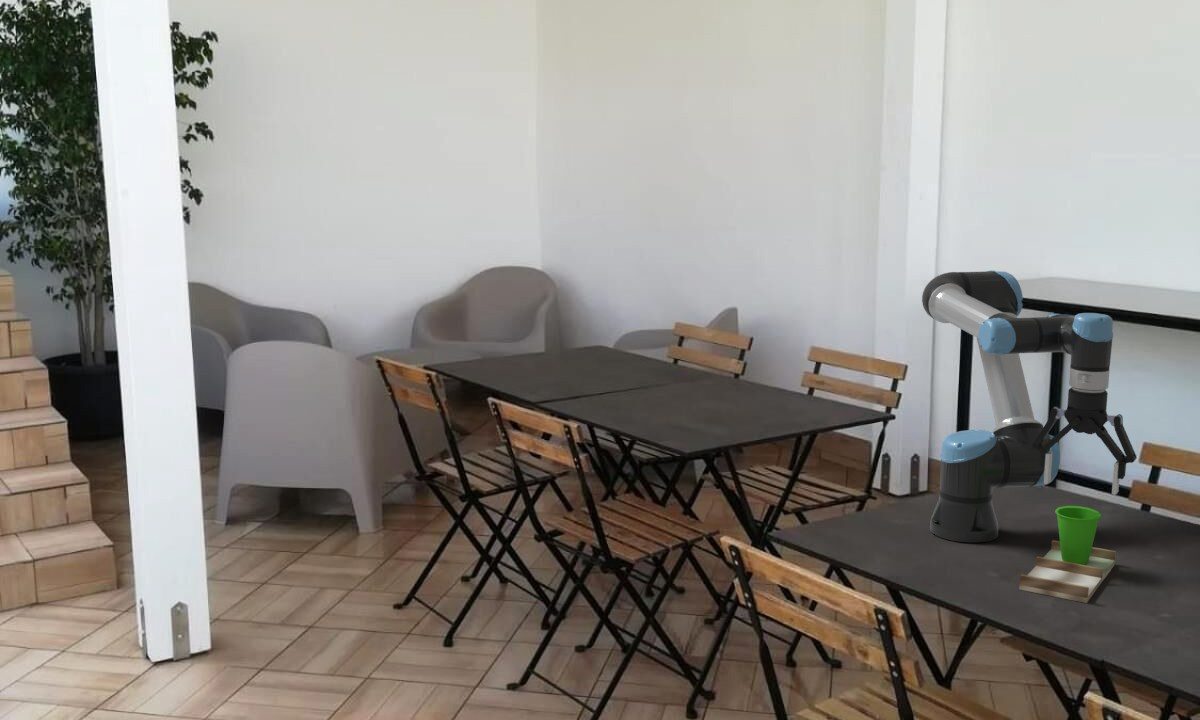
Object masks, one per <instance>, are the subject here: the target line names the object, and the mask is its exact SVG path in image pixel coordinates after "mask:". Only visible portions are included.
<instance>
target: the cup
mask: <svg viewBox="0 0 1200 720" xmlns="http://www.w3.org/2000/svg"><path fill="white" fill-rule="evenodd" d="M1054 513H1055V514H1056V518H1057V527H1058V535H1059V541H1060V547H1061V556H1062V560H1063V561H1065V562H1070V563H1076V564H1081V565H1087V563H1088V561H1089V557H1090V553H1091V549H1092V547H1093V543H1094V541H1095V536H1096V533H1097V528H1098V523H1099V520H1100V519H1101V518H1102V514H1101V512H1099V511H1098V510H1096V509H1094V508H1090V507H1085V506H1077V505H1065V506H1059V507H1057V508H1056V509H1055V512H1054Z"/></svg>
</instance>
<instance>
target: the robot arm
mask: <svg viewBox="0 0 1200 720" xmlns="http://www.w3.org/2000/svg"><path fill="white" fill-rule="evenodd" d="M1022 291H1023V290H1022V288H1021V285H1020V283H1019V282H1018V280H1017V278H1016V277H1015V276H1014V275H1013V274H1011V273H1010V272H1007V271H998V270H997V271H996V270H987V271H958V272H957V271H950V272H945V273H941V274H938V275H937V276H935V277H934V278H932V279H931V280H930V281H929V282H928V283H927V284H926V286H925V287H924V290H923V291H922V297H921V302H922V307H923V309H924V311H925V312H926V314H927V316H929V317H931V318H932V319H934V320H935V321H937V322H938V323H942V324H951V325H953V326H955V327H957V328H958V329H960V330H963V331H964V332H966V333H967V334H969V335H972V336H973V337H975V338H976V342H977V345H978V349H979V354H980V359H981V363H982V367H983V372H984V375H985V376H984V377H985V381H986V385H987V391H988V394H989V401H990V404H991V408H992V412H993V417H994V422H995V425H996V426H995V428H994V429H993V430H992V432H991V431H989V430H985V429H984V430H983V429H978V430H977V429H976V430H975V429H967V430H960V431H955V432H952V433H950V434H948V435H947V436H946V437H945V438H944V439H943V441H942V445H941V453H940V456H939V457H940V472H939V473H940V474H939V497H938V499H937V502H936V505H935V508H934V510H933V513H932V516H931V517H930V524H929V531H930V532H931V533H932V534H933V535H934V534H935V536H937V537H939V538H942V539H945V540H949V541H952V542H960V543H969V544H970V543H974V544H975V543H985V542H986V543H987V542H990V541H994V540H996V539H997V538H998V537H999V523H998V519H997V516H996V515H997V514H996V513H995V509H994V505H993V491H994V489H1002V488H1005V489H1006V488H1019V487H1020V488H1023V487H1025V488H1027V487H1028V488H1034V487H1038V486H1039V487H1040V486H1046V485H1049V484H1050V483H1052V482H1053V481H1054V480H1055V478H1056V477H1057V475H1058V472H1059V468H1060V464H1061V448H1060V444H1059V441H1060V440H1061V439H1062V438H1063V437H1065V436H1066V435H1067V434H1068V433H1069V432H1071V430H1073V431H1074V432H1075V433H1077V434H1078V433H1079V434H1083V433H1084V434H1086V435H1093V434H1095V435H1096V436H1097V438H1099V439H1100V440H1101V442H1103V444H1104V446H1105V447H1106V448H1107V450H1108V451H1109V452H1110V453H1111V454H1112V456H1113V457H1114V458H1115V460H1116V461H1115V463H1113V472H1112V473H1113V474H1112V486H1111V495H1113V496H1116V495H1117V494H1118V493H1119V491H1120V490H1119V487H1120V480H1123V479H1124V478H1125V477H1126V473H1127V472H1126V470H1127V464H1129V463H1131V464H1133V463H1134V462H1135V461H1136V459H1137V458H1138V457H1137V455H1136V452H1135V450H1134V448H1133V445H1132V443H1131V441H1130V438H1129V437H1128V434H1127V432H1126V430H1125V426H1124V424H1123V423H1124V418H1123V415H1122V414H1120V413H1119V414H1116V415H1109V414H1108V413H1107V406H1108V404H1107V403H1108V391H1107V389H1108V388H1109V382H1110V381H1109V380H1110V365H1111V356H1112V347H1113V339H1114V338H1113V337H1114V333H1113V328H1114V326H1113V325H1114V324H1113V322H1114V321H1113V318H1112V317H1111V316H1110V315H1108V314H1104V313H1103V314H1102V313H1097V312H1082V313H1077V314H1076V315H1074V317H1073V316H1072V315H1069V314H1060V313H1052V314H1049V315H1047V316H1043V317H1041V316H1040V317H1039V316H1038V317H1036V316H1035V317H1018V316H1019V315H1020V314H1021V312H1022V309H1023V305H1024V304H1023V302H1022V301H1023V300H1024V298H1023V292H1022ZM1033 353H1034V354H1037V353H1065V354H1067V355H1070V367H1069V379H1068V386H1069V387H1070V388H1069V389H1068V392H1067V406H1066V409H1062V408H1060V407H1059V406H1053V408H1052V409H1050V413H1049V418H1048V420H1047V421H1046V423H1045V424H1044V425H1043V423H1042V422H1040V421H1039V420H1036V419H1035V416H1034V412H1033V407H1032V403H1031V400H1030V394H1029V390H1028V387H1027V383H1026V379H1025V378H1026V377H1025V374H1024V370H1023V366H1022V360H1021V356H1020V354H1033ZM1063 416H1064V418H1065V419H1066V421H1067V425H1066V426H1064V428H1062V429H1061V430H1060V431H1059V432H1057V433H1056V434H1055V435H1052V434H1049V433H1050V432H1051V430H1052V428H1053V427H1054V426H1055V423H1056V422H1057V420H1060V419H1061V418H1062V417H1063ZM1107 422H1109V423H1110V425H1111V426H1112V427H1113V428H1114V431H1115V434H1116V437H1117V438H1118V441H1119V443H1120V446H1121V448H1122V450H1123V451H1122V450H1121V448H1120V447H1119V446H1118V444H1117V443H1116V442H1115V440H1114V439H1113V437H1112V436H1111V435H1110V434H1109V432H1108V429H1106V426H1104V425H1105V424H1106V423H1107Z"/></svg>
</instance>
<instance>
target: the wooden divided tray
mask: <svg viewBox="0 0 1200 720" xmlns="http://www.w3.org/2000/svg"><path fill="white" fill-rule="evenodd" d="M1050 548H1051V549H1050V550H1049V551H1048V552H1047V553H1045V555H1044V556H1043V557H1042V556H1036V562H1035V566H1034V568H1032V570H1031V571H1030V572H1029V573H1028V574H1022V573H1021V574H1020V575H1019V587H1018V589H1019V590H1021V591H1024V592H1025V591H1026V592H1030V593H1031V592H1032V593H1034V594H1041V595H1046V596H1050V597H1056V598H1058V599H1059V598H1060V599H1065V600H1070V601H1074V602H1075V601H1076V602H1080V603H1085V604H1087V603H1088V602H1089V600H1090V599H1091V598H1092V597H1093V595H1094V594H1095V592H1096V591H1097V590H1098V588H1099V587H1100V586H1101V584H1102V583H1103V581H1104V580H1105V579H1106V577H1107V576H1108V575H1109V573H1110V572H1111V571H1112V570H1113V568H1114V567H1115V565H1116V556H1117V550H1111V549H1107V548H1106V549H1105V548H1100V547H1094V546H1092V549H1091V553H1090V557H1089V561H1088V563H1087V565H1081V564H1076V563H1070V562H1065V561H1063V560H1062V556H1061V547H1060V540H1055V539H1052V541H1051V547H1050Z"/></svg>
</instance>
